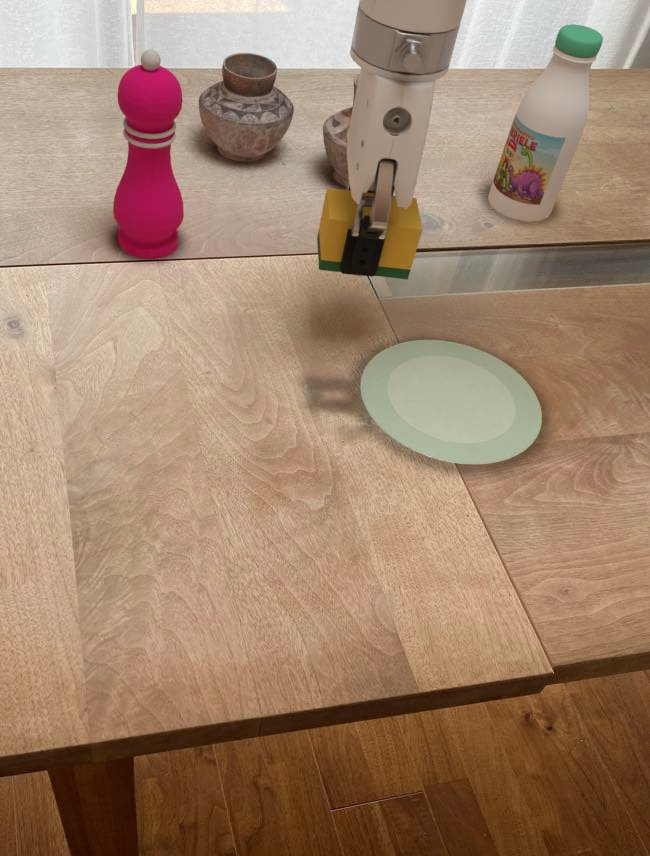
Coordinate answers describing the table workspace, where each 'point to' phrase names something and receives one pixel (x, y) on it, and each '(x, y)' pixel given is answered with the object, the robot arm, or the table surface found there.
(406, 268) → the sponge
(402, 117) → the robot arm
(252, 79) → the pottery
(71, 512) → the table surface
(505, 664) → the table surface
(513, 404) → the plate
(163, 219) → the pepper mill
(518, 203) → the milk bottle
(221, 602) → the table surface
